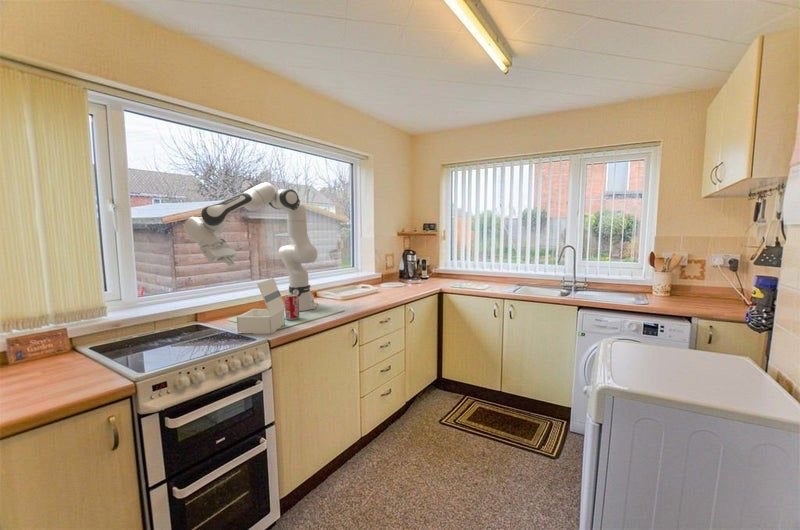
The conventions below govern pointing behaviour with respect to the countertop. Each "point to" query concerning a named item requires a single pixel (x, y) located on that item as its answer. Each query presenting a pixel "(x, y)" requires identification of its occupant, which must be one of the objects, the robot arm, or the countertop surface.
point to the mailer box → (260, 321)
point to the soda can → (292, 306)
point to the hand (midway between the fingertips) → (232, 264)
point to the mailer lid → (271, 296)
